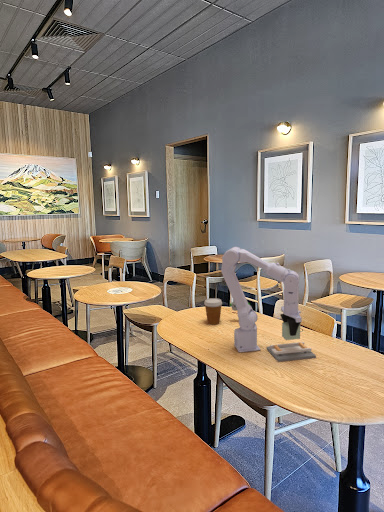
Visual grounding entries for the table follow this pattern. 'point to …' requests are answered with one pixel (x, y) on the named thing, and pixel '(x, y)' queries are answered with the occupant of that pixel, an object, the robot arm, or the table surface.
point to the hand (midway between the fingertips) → (290, 333)
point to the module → (286, 332)
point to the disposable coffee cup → (213, 310)
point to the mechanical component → (234, 307)
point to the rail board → (290, 351)
